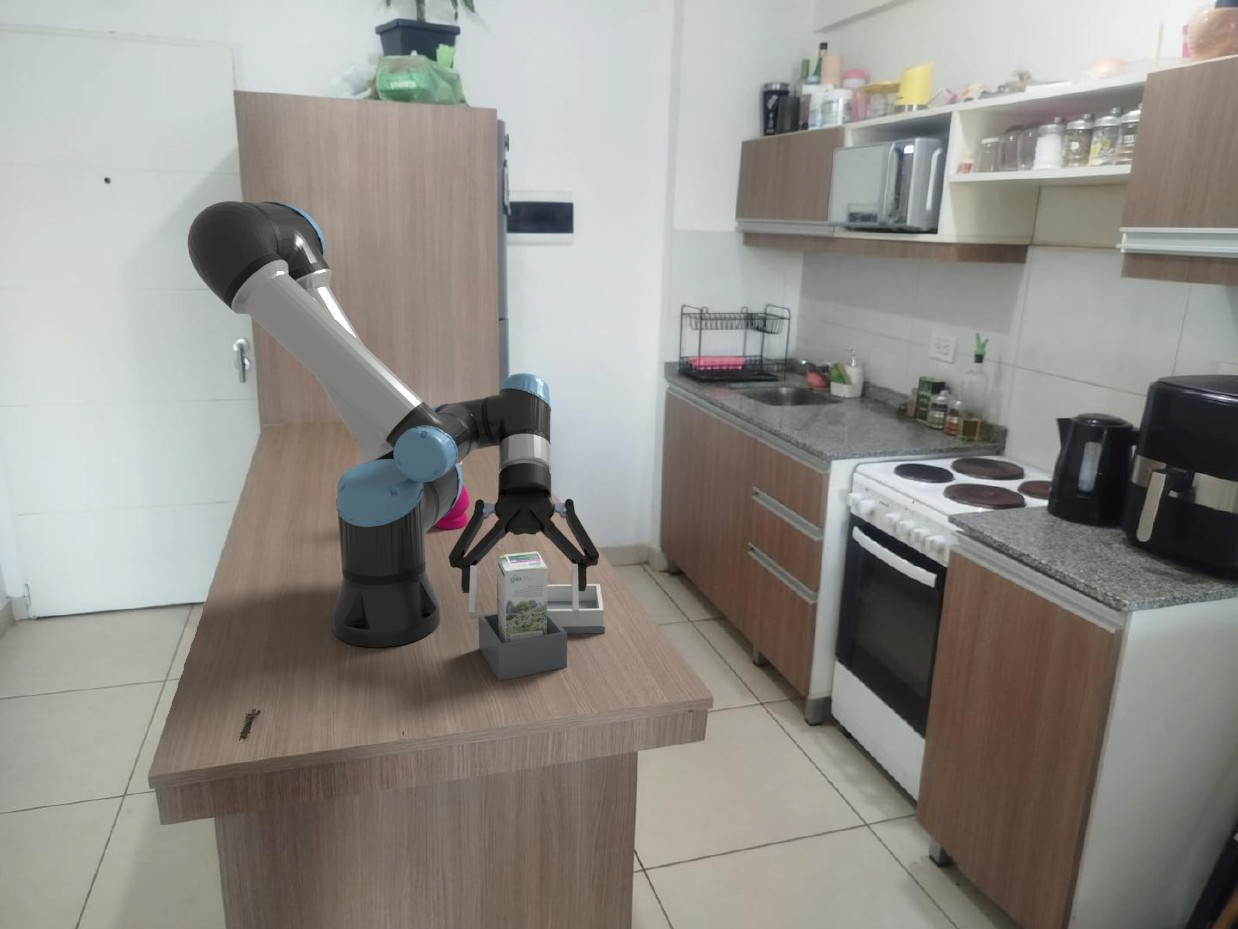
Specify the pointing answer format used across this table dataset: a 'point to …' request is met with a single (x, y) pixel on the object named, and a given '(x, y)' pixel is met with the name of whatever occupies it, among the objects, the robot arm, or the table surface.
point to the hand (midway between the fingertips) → (524, 614)
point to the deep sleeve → (522, 649)
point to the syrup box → (521, 596)
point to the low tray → (589, 608)
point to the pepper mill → (456, 512)
